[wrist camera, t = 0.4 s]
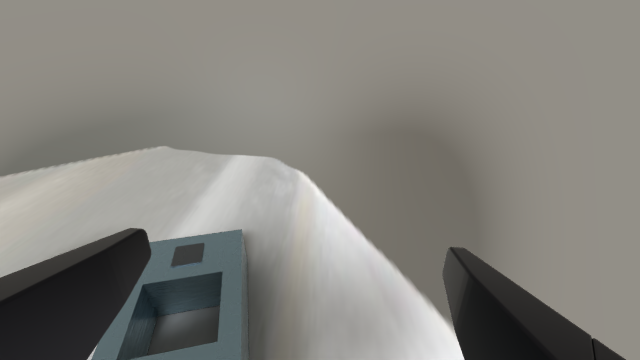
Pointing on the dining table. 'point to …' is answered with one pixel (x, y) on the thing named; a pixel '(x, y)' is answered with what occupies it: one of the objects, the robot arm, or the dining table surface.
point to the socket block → (185, 298)
